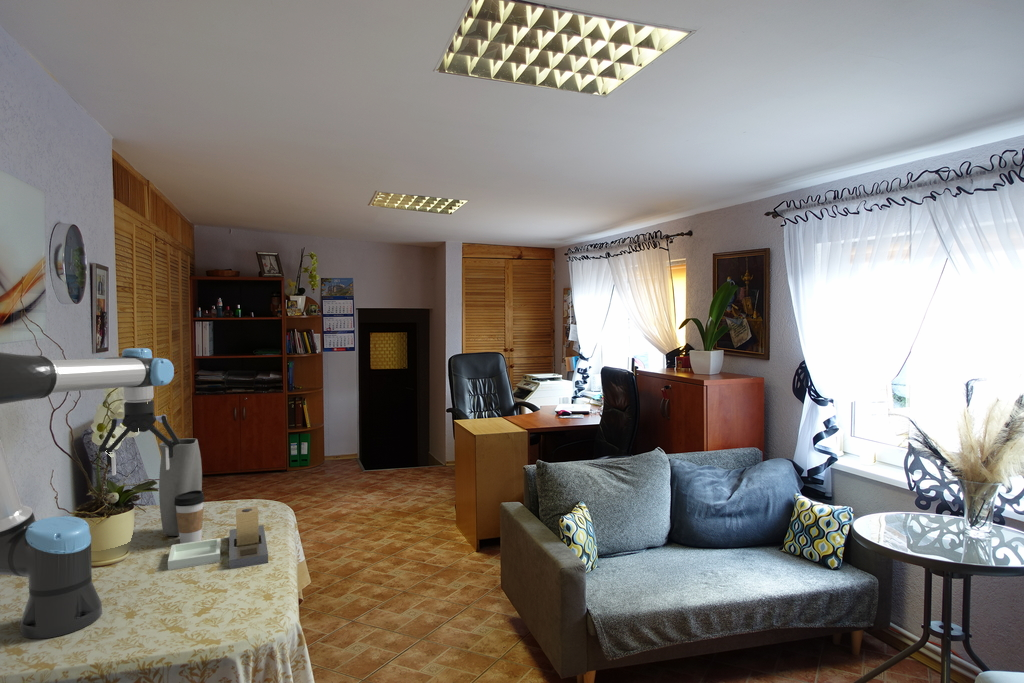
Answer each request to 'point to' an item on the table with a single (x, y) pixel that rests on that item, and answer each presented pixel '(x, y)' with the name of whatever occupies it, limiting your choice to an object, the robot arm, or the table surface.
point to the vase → (178, 479)
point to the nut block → (247, 526)
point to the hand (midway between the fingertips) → (141, 471)
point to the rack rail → (247, 551)
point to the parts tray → (194, 553)
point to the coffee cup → (190, 515)
